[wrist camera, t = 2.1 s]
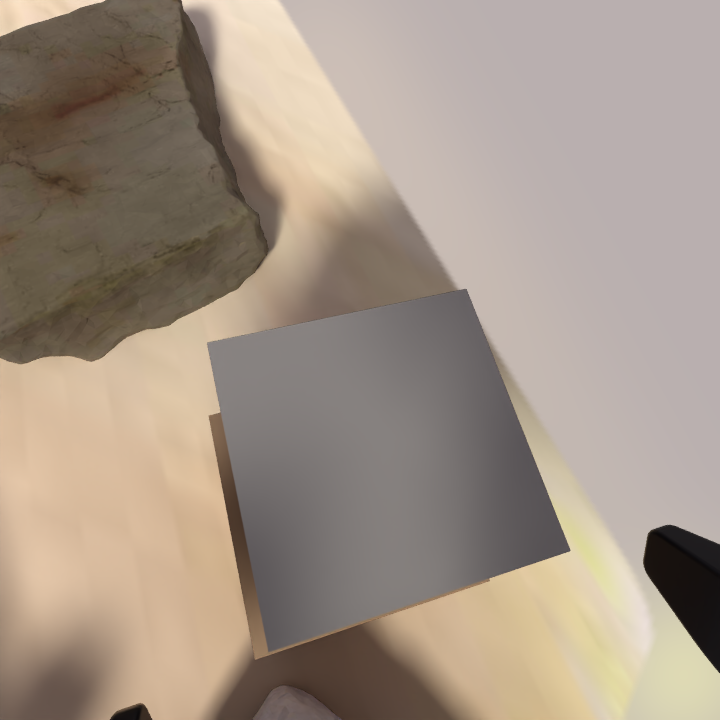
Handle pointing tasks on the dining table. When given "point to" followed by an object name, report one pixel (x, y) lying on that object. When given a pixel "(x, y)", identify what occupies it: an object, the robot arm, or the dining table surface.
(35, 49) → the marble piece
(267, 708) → the stone block
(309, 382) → the grey block
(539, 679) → the dining table surface
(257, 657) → the plinth
